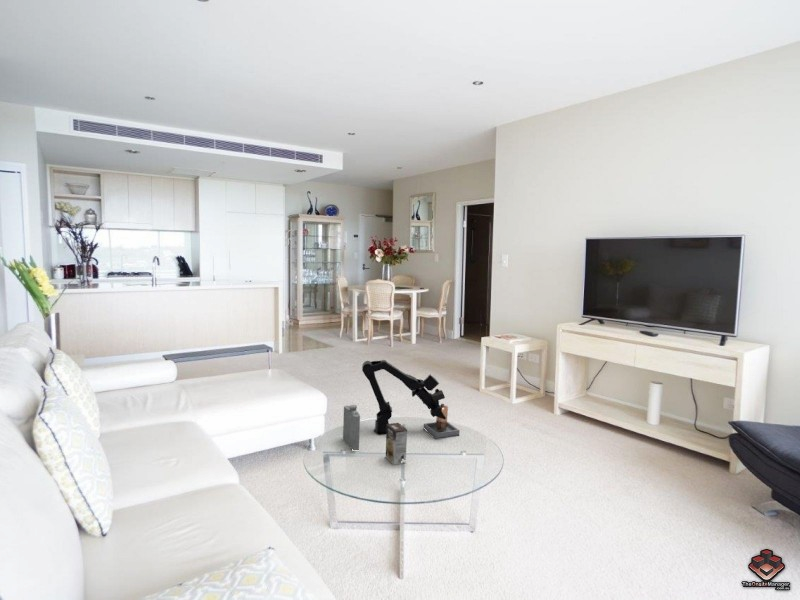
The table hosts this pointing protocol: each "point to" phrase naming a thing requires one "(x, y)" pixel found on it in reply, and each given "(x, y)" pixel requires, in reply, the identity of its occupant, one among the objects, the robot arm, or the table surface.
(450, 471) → the table surface
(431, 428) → the fill tray
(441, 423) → the copper bottle
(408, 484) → the table surface
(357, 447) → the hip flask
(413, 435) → the table surface
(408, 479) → the table surface
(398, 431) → the coffee box
